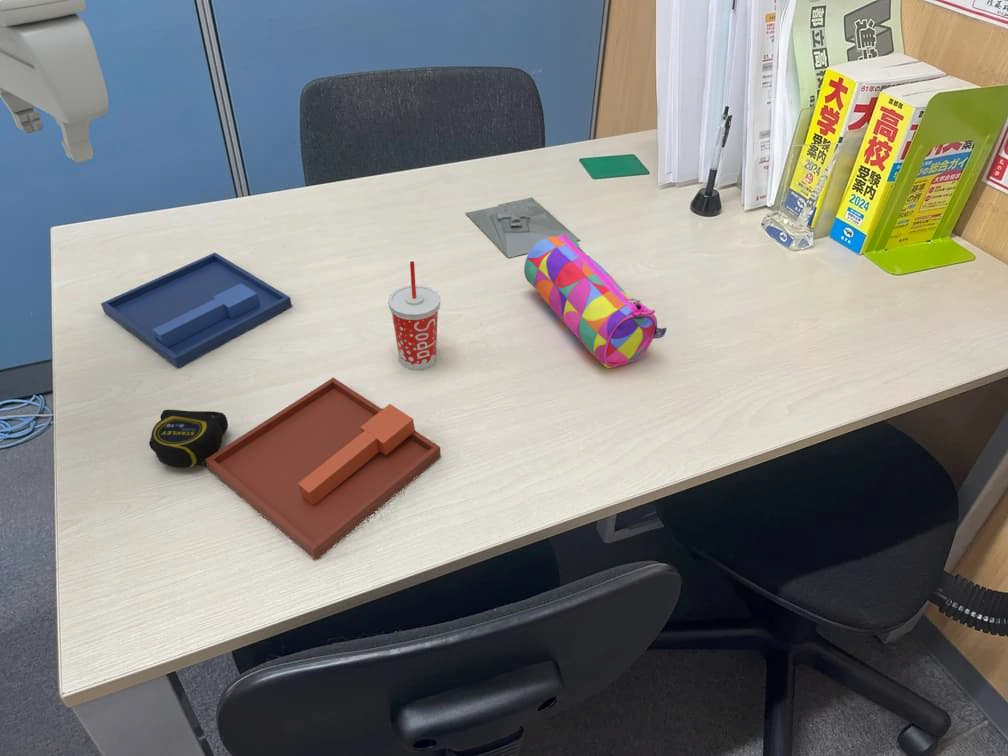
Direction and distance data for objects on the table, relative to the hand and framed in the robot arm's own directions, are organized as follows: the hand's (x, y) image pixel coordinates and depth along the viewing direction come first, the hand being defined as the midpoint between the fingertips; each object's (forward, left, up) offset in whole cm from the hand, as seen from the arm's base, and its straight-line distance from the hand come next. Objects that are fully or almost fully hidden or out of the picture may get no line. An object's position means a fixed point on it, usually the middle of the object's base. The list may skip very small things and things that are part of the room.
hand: (55, 143), depth 65 cm
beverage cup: (+24, -21, -29) cm, 43 cm away
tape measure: (-3, -13, -29) cm, 32 cm away
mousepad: (+59, -5, -29) cm, 66 cm away
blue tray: (+12, +8, -29) cm, 32 cm away
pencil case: (+44, -33, -29) cm, 62 cm away
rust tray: (+5, -26, -29) cm, 39 cm away
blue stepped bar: (+12, +4, -28) cm, 31 cm away
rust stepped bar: (+8, -29, -28) cm, 41 cm away
